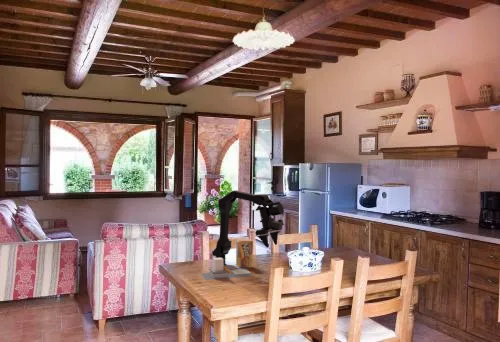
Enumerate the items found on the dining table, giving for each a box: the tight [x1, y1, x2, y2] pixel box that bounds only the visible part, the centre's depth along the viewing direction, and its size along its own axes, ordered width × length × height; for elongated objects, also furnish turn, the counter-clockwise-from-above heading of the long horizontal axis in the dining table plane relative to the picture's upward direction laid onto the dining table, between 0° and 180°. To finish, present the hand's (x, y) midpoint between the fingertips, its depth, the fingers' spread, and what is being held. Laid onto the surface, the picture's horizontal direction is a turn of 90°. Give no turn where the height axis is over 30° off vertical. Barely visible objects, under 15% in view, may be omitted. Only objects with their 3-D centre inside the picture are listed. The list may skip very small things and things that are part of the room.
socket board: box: [199, 268, 255, 281], centre depth 226 cm, size 13×26×4 cm, turn 109°
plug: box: [209, 257, 227, 274], centre depth 224 cm, size 7×7×9 cm
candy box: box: [235, 239, 254, 269], centre depth 246 cm, size 9×4×15 cm, turn 110°
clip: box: [223, 265, 231, 274], centre depth 223 cm, size 19×2×1 cm, turn 19°
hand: (271, 246), depth 230 cm, fingers open, 9 cm apart
